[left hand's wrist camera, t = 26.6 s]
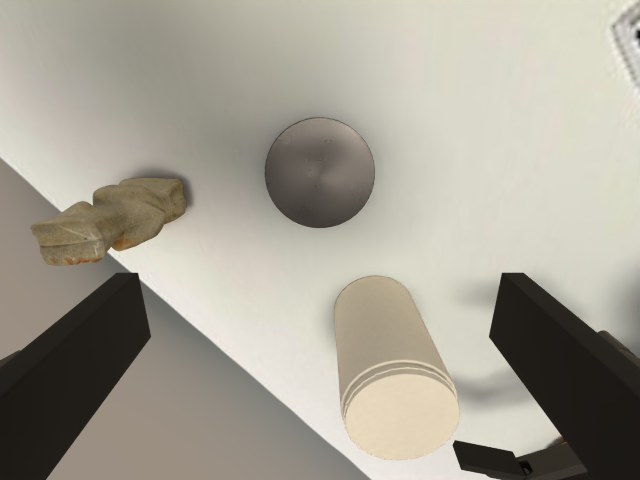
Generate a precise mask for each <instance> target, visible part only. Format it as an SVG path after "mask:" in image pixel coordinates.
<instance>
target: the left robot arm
mask: <svg viewBox="0 0 640 480" xmlns="http://www.w3.org/2000/svg"><path fill="white" fill-rule="evenodd" d="M150 338H151V334H150V329H149V324H148V320H147V314H146V310H145V305H144V300H143V295H142V290H141V285H140V280H139V275H138V273H116V274H115V275H113V276H112V277H111V278H110V279H108V280H107V281H106V282H105V283H104V284H102V285H101V286H100V287H99V288H97V289H96V290H95V291H94V292H93V293H91V294H90V295H89V296H88V297H86V298H85V299H84V300H83V301H81V302H80V303H79V304H78V305H77V306H75V307H74V308H73V309H72V310H70V311H69V312H68V313H67V314H66V315H64V316H63V317H62V318H61V319H59V320H58V321H57V322H56V323H55V324H53V325H52V326H51V327H50V328H48V329H47V330H46V331H45V332H43V333H42V334H41V335H40V336H38V337H37V338H36V339H35V340H34V341H32V342H31V343H30V344H29V345H27V346H26V347H25V348H24V349H22V350H21V351H17V352H15V353H13V354H11V355H9V356H7V357H5V358H4V359H2V360H0V480H46V479H47V477H48V476H49V475H50V473H51V472H52V471H53V469H54V468H55V466H56V465H57V464H58V463H59V461H60V460H61V458H62V457H63V456H64V454H65V453H66V452H67V450H68V449H69V448H70V446H71V445H72V444H73V442H74V441H75V439H76V438H77V437H78V435H79V434H80V433H81V431H82V430H83V429H84V427H85V426H86V424H87V423H88V422H89V420H90V419H91V418H92V416H93V415H94V414H95V412H96V411H97V410H98V408H99V407H100V405H101V404H102V403H103V401H104V400H105V399H106V397H107V396H108V395H109V393H110V392H111V391H112V389H113V388H114V386H115V385H116V384H117V382H118V381H119V380H120V378H121V377H122V376H123V374H124V373H125V372H126V370H127V369H128V367H129V366H130V365H131V363H132V362H133V361H134V359H135V358H136V357H137V355H138V354H139V353H140V351H141V350H142V348H143V347H144V346H145V344H146V343H147V342H148V340H149V339H150ZM489 338H490V339H491V340H492V342H493V343H494V344H495V346H496V347H497V348H498V350H499V351H500V353H501V354H502V355H503V357H504V358H505V359H506V361H507V362H508V363H509V365H510V366H511V367H512V369H513V370H514V372H515V373H516V374H517V376H518V377H519V378H520V380H521V381H522V382H523V384H524V385H525V386H526V388H527V389H528V391H529V392H530V393H531V395H532V396H533V397H534V399H535V400H536V401H537V403H538V404H539V405H540V407H541V408H542V410H543V411H544V412H545V414H546V415H547V416H548V418H549V419H550V420H551V422H552V423H553V424H554V426H555V427H556V429H557V430H558V431H559V433H560V434H561V435H562V437H563V438H564V439H565V441H566V442H567V444H568V445H569V446H570V448H571V449H572V450H573V452H574V453H575V454H576V456H577V457H578V458H579V460H580V461H581V463H582V464H583V465H584V467H585V468H586V469H587V471H588V472H589V473H590V475H591V476H592V477H593V479H594V480H640V359H639V358H637V357H635V356H634V355H632V354H630V353H628V352H626V351H624V350H622V349H616V348H615V347H614V346H613V345H611V344H610V343H609V342H608V341H606V340H605V339H604V338H603V337H602V336H600V335H599V334H598V333H597V332H595V331H594V330H593V329H592V328H590V327H589V326H588V325H587V324H586V323H584V322H583V321H582V320H581V319H579V318H578V317H577V316H576V315H575V314H573V313H572V312H571V311H570V310H568V309H567V308H566V307H565V306H563V305H562V304H561V303H560V302H559V301H557V300H556V299H555V298H554V297H552V296H551V295H550V294H549V293H547V292H546V291H545V290H544V289H543V288H541V287H540V286H539V285H538V284H536V283H535V282H534V281H533V280H532V279H530V278H529V277H528V276H527V275H525V274H524V273H502V275H501V280H500V285H499V290H498V295H497V300H496V305H495V310H494V314H493V319H492V324H491V329H490V334H489Z"/></svg>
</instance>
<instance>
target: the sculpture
mask: <svg viewBox="0 0 640 480" xmlns="http://www.w3.org/2000/svg"><path fill="white" fill-rule="evenodd" d="M182 191H183V185H182V182H181V180H180V179H175V178H174V179H163V178H133V179H125V180H123V181H121V182H120V184H119V185H109V186H105V187H102V188H99V189H97V190H96V191H95V192H94V193H93V206H92V205H91V204H89V203H88V202H85V201H81V202H78V203H76V204H74V205H72V206H71V207H69V208H68V209H67V210H65V211H63V212H62V213H60V214H59V215H57V216H55V217H54V218H52V219H50V220H45V221H40V222H37V223H35V224H33V225H31V232H32V234H33V235H34V236H35V238H36V239H37V241H38V243H39V246H40V252H41V256H42V258H43V260H44V262H45V263H46V264H49V265H54V266H62V265H73V264H81V263H86V262H92V263H97V262H99V261H100V260H101V259H102V258H103V257H104V255H105V254H106V252H107V251H108V250H109V249H110V247H112V248H113V249H114V250H116V251H122V250H126V249H129V248H131V247H135V246H137V245H139V244H141V243H143V242H145V241H147V240H149V239H152V238H153V237H155V236H157V235H158V234H159V232H160V231H161V229H162V228H163V225H164V224H166V223H169V222H171V221H173V220H175V219H177V218H179V217H180V216H182V215H183V214H184V213H185V210H186V199H185V198H184V196H183V192H182Z"/></svg>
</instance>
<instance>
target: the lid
mask: <svg viewBox="0 0 640 480" xmlns="http://www.w3.org/2000/svg"><path fill="white" fill-rule="evenodd" d="M374 179H375V168H374V161H373V157H372V154H371V152H370V149H369V147H368V146H367V144H366V142H365V141H364V140H363V138H362V137H361V136H360V135H359V134H358V133H357V132H356V131H355V130H353V129H352V128H351V127H349V126H348V125H346V124H344V123H342V122H340V121H337V120H334V119H330V118H310V119H306V120H303V121H300V122H298V123H296V124H294V125H292V126H291V127H289V128H288V129H286V130H285V131H284V132H283V133H282V134H281V135H280V136H279V137H278V138H277V139H276V140H275V142H274V144H273V145H272V147H271V149H270V151H269V153H268V157H267V160H266V165H265V181H266V186H267V190H268V192H269V195H270V197H271V199H272V201H273V202H274V204H275V205H276V207H277V208H278V209H279V210H280V211H281V212H282V213H283V214H284V215H285V216H286V217H288V218H289V219H291V220H292V221H294V222H296V223H298V224H301V225H304V226H308V227H313V228H327V227H333V226H336V225H339V224H341V223H344V222H346V221H347V220H349V219H351V218H352V217H353V216H355V215H356V214H357V213H358V212H359V211H360V210H361V209H362V208H363V206H364V205H365V204H366V202H367V200H368V199H369V196H370V194H371V192H372V189H373V185H374Z"/></svg>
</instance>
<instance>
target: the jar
mask: <svg viewBox="0 0 640 480" xmlns="http://www.w3.org/2000/svg"><path fill="white" fill-rule="evenodd" d="M334 317H335V332H336V346H337V361H338V375H339V390H340V404H341V414H342V418H343V421H344V424H345V429H346V431H347V433H348V435H349V437H350V439H351V440H352V441H353V442H354V443H355V444H356V445H357V446H358V447H359V448H360V449H362V450H363V451H365V452H366V453H368V454H370V455H373V456H376V457H379V458H383V459H387V460H407V459H413V458H418V457H421V456H424V455H427V454H429V453H431V452H433V451H435V450H436V449H438V448H440V447H441V446H442V445H444V444H445V443H446V442H447V441H448V440H449V439H450V437H451V436H452V435H453V433H454V432H455V430H456V428H457V426H458V422H459V417H460V409H459V404H458V397H457V392H456V388H455V386H454V384H453V382H452V380H451V378H450V376H449V374H448V372H447V369H446V367H445V365H444V363H443V361H442V359H441V357H440V355H439V353H438V351H437V349H436V347H435V345H434V343H433V340H432V338H431V336H430V334H429V332H428V330H427V328H426V326H425V324H424V322H423V320H422V318H421V316H420V314H419V311H418V309H417V307H416V305H415V303H414V301H413V299H412V297H411V295H410V293H409V292H408V290H407V289H406V288H405V287H404V286H403V285H402V284H401V283H399V282H397V281H395V280H393V279H391V278H387V277H382V276H370V277H365V278H361V279H359V280H356V281H354V282H353V283H351V284H350V285H348V286H347V287H346V288H345V289H344V290H343V291H342V292H341V294H340V295H339V297H338V298H337V301H336V303H335V308H334Z"/></svg>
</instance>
